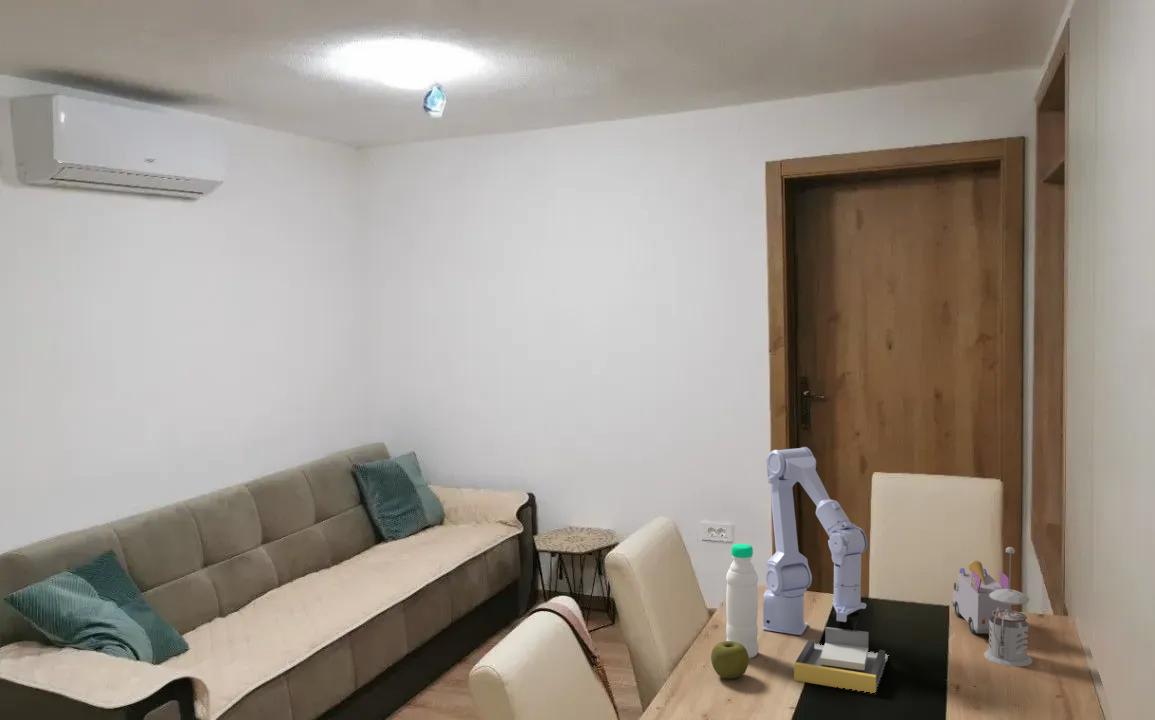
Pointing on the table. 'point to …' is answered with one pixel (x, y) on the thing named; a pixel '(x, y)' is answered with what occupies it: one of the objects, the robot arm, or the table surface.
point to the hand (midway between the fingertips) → (846, 642)
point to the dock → (838, 670)
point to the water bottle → (742, 599)
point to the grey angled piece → (845, 649)
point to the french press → (1008, 628)
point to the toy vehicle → (977, 597)
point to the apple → (729, 659)
